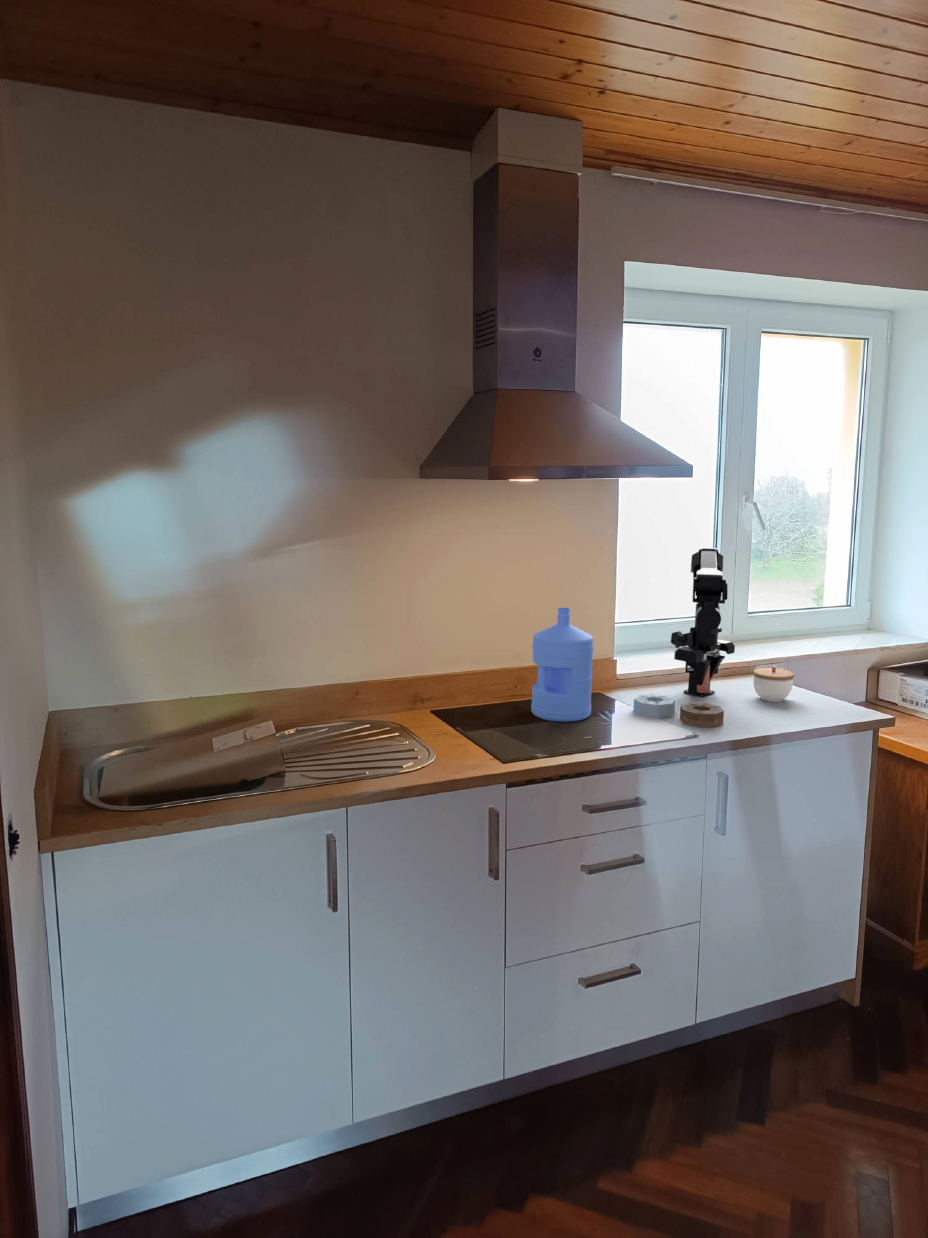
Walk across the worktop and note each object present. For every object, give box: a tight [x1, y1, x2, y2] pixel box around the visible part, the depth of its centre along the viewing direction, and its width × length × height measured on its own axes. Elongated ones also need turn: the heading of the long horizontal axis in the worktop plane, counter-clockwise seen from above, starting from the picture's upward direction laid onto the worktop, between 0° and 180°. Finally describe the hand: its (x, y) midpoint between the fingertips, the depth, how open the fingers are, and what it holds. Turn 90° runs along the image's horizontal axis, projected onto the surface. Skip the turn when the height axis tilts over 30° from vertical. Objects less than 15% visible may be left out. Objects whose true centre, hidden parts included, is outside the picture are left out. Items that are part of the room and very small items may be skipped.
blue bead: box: [632, 693, 676, 719], centre depth 226 cm, size 10×10×4 cm
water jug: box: [530, 607, 594, 723], centre depth 221 cm, size 16×16×28 cm
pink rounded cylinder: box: [697, 664, 710, 693], centre depth 216 cm, size 3×3×7 cm
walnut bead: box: [679, 702, 725, 728], centre depth 218 cm, size 10×10×4 cm
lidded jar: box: [752, 665, 795, 703], centre depth 239 cm, size 11×11×9 cm
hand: (703, 684), depth 216 cm, fingers closed on pink rounded cylinder, 3 cm apart
